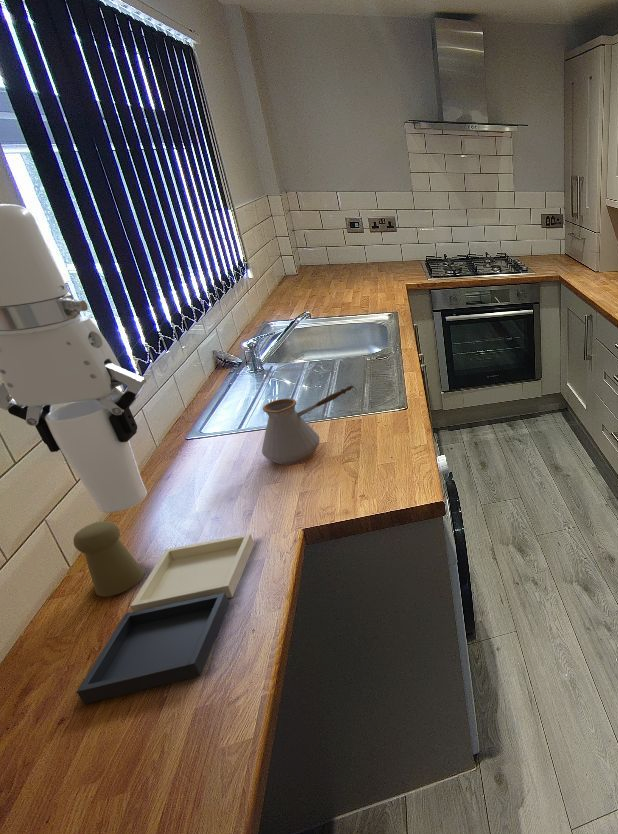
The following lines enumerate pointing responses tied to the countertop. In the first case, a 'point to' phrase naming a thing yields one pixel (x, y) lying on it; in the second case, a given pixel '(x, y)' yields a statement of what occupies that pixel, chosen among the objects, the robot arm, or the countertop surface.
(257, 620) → the countertop surface
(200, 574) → the cream tray
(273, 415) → the coffee pot
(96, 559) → the cork
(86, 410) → the drinking glass
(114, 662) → the charcoal tray
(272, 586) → the countertop surface
